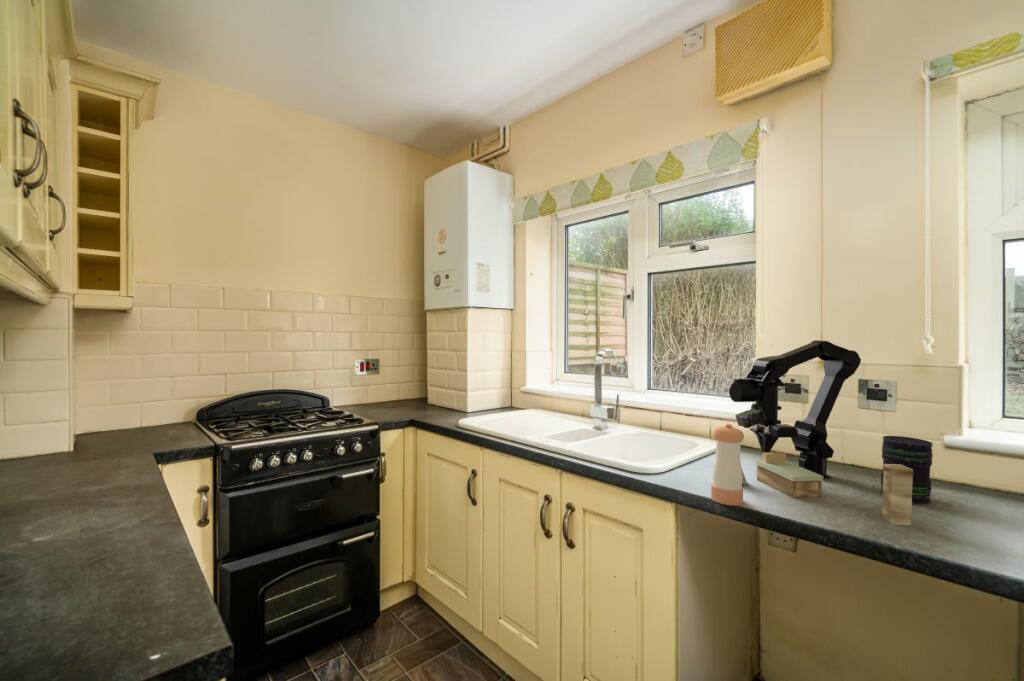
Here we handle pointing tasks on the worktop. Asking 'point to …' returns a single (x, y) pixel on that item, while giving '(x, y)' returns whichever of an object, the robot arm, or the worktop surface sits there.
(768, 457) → the lid
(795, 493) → the wooden box tray
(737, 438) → the pepper shaker
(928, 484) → the storage jar
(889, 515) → the brown box
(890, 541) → the worktop surface
